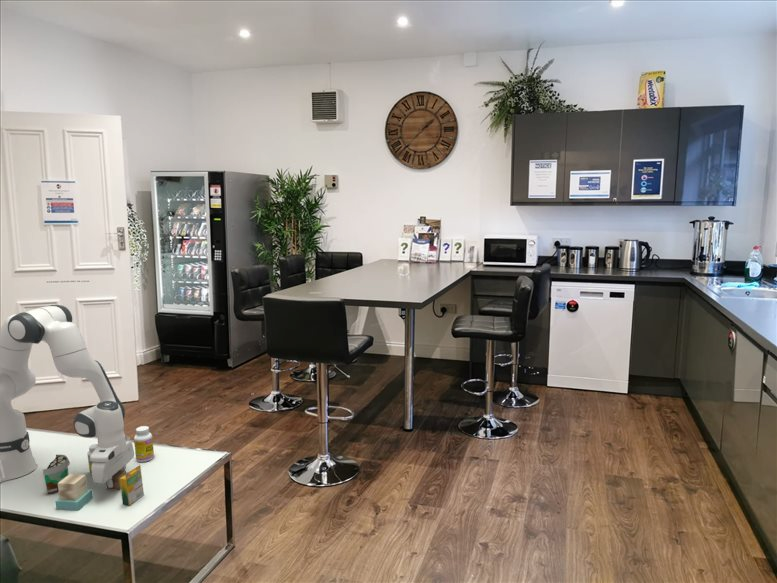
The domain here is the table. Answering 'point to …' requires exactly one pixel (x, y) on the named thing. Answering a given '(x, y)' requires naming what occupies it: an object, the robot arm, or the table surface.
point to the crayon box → (131, 486)
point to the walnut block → (116, 480)
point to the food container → (56, 473)
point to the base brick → (74, 502)
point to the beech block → (72, 487)
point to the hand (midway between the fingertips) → (116, 482)
